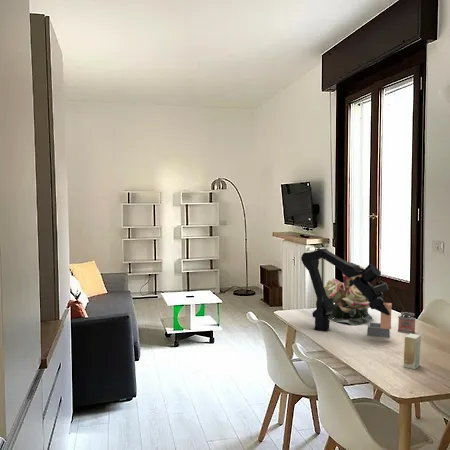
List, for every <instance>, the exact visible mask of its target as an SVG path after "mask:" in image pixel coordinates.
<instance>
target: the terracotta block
mask: <svg viewBox="0 0 450 450" xmlns="http://www.w3.org/2000/svg"><path fill="white" fill-rule="evenodd" d="M383 304H384V305H385V307H386V308H387V310H388V311H389V313H390V315H386V314H384V313H382V312H380V322H379V323H380V328H383V329H390V330H391V329H392V327H391V326H392V323H391V322H392V308H393V307H392V304H393V303H391V302H384V303H383Z"/></svg>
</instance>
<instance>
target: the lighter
mask: <svg viewBox="0 0 450 450" xmlns="http://www.w3.org/2000/svg"><path fill="white" fill-rule="evenodd" d="M397 318H398V324H397V325H398V326H397V327H398V328H397V332H398V333H403V334H407V335H408V334H410V333H411V334H416V320H417V319H416V317H415V313H414V312H408V311H405V312H403V311H401V312H400V315H399V316H398V317H397Z"/></svg>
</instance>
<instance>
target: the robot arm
mask: <svg viewBox="0 0 450 450" xmlns="http://www.w3.org/2000/svg"><path fill="white" fill-rule="evenodd" d="M320 259H323V260H325V261H326V262H328V263H329V264H331V265H333V266H335V267H336V268H338V269H339V270H340V272H341V274H342V273H343V274H344V275H345V276H346V277H348V278H351V277H356V278H355V279H353V280H352V279H351V280H350V281H349V287H351V286H352V285H354V286H355V287H356V288H357V289H358V290H359V291H360V292H361V293H362V295H363V296H365V297H366V298H367V300H368V302H369V308H370V309H371V310H375V311H377V312H380V313H381V312H382V313H384V314H386V315H390V313H389V311H388V310H387V308H386V307H385V305H384V304H383V303H385V301H384V298H385V297H384V292H387V291H389V289H390V288H389V286H388V284H387V282H384V281H383V280H380V281H379V282H378V285H375V286H374V285H373V284H371V283H374V281H376V280H378V278H380V277H381V275H382V273H381V270H380V269H379V268H378V267H377V266H375V265H374V264H372V263H369V264H368V265H367V266H366V267H364V269H362V268H360V266H361V265H360V264H356V263H353V262H351V261H346V260H344V259H343V258H342V257H339V256H338V255H336V254H334V253H333V252H331V251H330V250H328V248H318V249H317V250H314V251H310V252H309V251H308V252H306V251H305V252H304V253H302V254H301V257H300V260H301V262H302V264H303V266H304V268H305V269H306V270H308V273H309V276H310V280H311V283H312V287H313V290H314V293H315V297H316V302H315V306H316V307H315V308H316V309H315V310H314V311H312V318H314V319H315V320H314V328H313V330H314V331H324V332H328V331H329V329H330V322H331V321H330V320H331V319H330V318H329V316H331V314H332V312H333V311H334V306H335V305H334V304H335V303H333V300H332V298H328V297H327V295H326V292H325V289H324V286H325V285H324V283H323V279H322V277H321V273H320V270H319V264H320V261H319V260H320ZM359 265H360V266H359ZM359 275H362V276H360V277H357V276H359ZM369 283H370V284H369Z"/></svg>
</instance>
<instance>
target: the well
mask: <svg viewBox="0 0 450 450" xmlns="http://www.w3.org/2000/svg"><path fill="white" fill-rule="evenodd" d="M367 322H368V324H367V329H366V330H367V334H366V336H370V337H380V338H381V337H382V338H390V331H391V329H383V328H380V322H372V321H367Z"/></svg>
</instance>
